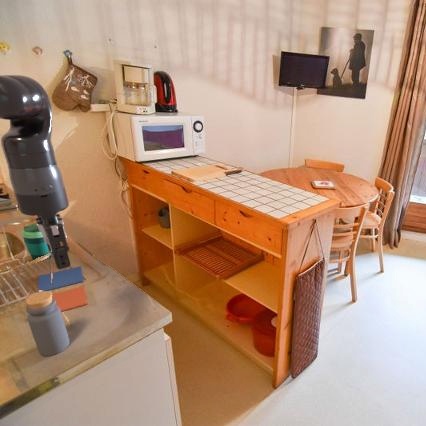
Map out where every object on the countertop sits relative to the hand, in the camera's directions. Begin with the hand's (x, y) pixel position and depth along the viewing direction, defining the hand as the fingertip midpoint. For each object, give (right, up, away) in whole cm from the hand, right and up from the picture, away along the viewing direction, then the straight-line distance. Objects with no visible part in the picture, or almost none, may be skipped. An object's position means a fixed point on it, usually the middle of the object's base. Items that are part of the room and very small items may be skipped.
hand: (59, 258), depth 68 cm
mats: (-23, -14, +29) cm, 40 cm away
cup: (-41, -6, +44) cm, 61 cm away
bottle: (-9, -23, +10) cm, 27 cm away
